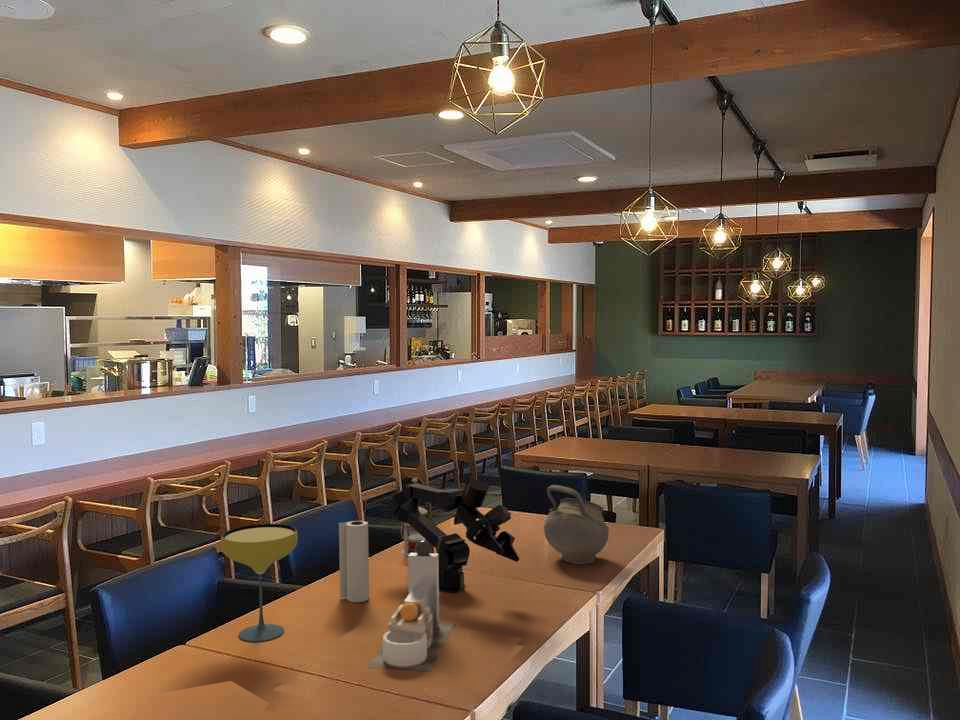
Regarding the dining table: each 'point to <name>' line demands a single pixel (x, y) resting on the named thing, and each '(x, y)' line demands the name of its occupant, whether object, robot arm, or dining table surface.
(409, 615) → the ball
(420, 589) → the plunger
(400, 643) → the cup
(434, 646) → the launcher
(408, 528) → the french press
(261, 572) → the cocktail glass
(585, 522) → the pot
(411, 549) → the canned food
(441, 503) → the robot arm
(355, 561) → the paper towel roll
